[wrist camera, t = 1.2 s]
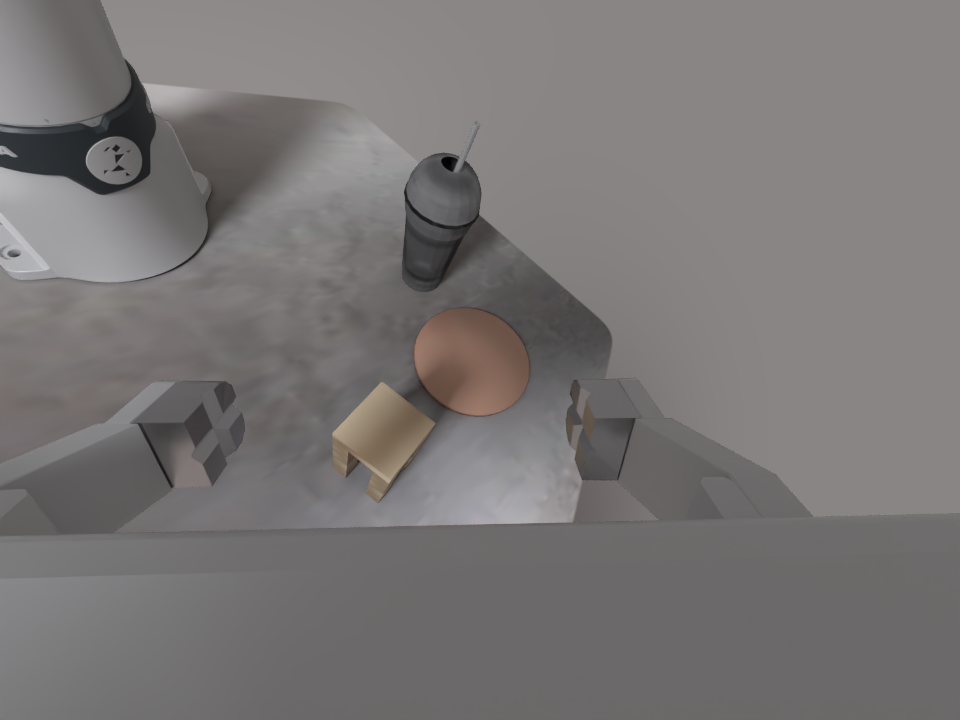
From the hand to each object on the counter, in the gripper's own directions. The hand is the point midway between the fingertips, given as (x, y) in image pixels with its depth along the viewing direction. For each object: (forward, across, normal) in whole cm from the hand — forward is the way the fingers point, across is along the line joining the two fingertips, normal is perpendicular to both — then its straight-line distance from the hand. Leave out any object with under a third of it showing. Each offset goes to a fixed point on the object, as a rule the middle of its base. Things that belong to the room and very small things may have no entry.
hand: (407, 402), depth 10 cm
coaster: (+30, -3, +17) cm, 35 cm away
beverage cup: (+39, +3, +10) cm, 40 cm away
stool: (+19, +6, +21) cm, 29 cm away
